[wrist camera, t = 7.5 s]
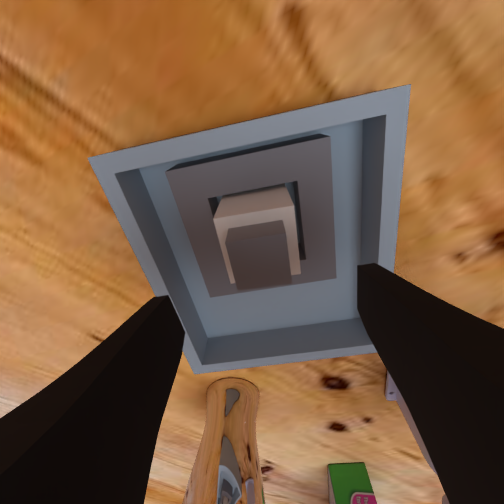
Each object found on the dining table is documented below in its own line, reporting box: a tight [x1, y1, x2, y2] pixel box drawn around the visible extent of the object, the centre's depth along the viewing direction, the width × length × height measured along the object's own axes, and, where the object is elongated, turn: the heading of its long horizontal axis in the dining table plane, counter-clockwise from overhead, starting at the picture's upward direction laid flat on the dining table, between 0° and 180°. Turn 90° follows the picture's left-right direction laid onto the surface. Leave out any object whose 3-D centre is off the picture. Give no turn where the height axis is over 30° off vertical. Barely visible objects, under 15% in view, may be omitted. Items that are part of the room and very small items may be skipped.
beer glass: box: [182, 378, 265, 504], centre depth 22 cm, size 7×7×15 cm
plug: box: [213, 183, 301, 291], centre depth 14 cm, size 4×4×7 cm
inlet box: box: [88, 84, 411, 374], centre depth 18 cm, size 18×16×4 cm
